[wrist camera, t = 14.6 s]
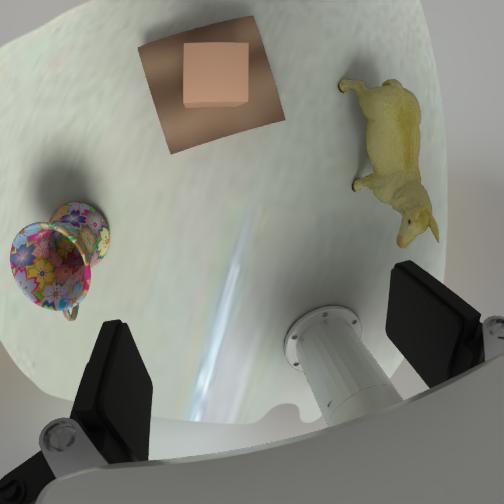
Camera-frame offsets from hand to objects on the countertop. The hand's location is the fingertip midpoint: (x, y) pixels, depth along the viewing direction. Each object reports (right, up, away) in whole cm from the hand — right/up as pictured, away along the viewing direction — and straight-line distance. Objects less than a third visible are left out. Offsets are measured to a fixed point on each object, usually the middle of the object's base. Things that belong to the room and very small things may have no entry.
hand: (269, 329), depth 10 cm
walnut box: (-5, +21, +22) cm, 31 cm away
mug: (-22, +4, +26) cm, 34 cm away
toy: (+13, +16, +27) cm, 34 cm away
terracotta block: (-5, +19, +17) cm, 26 cm away
